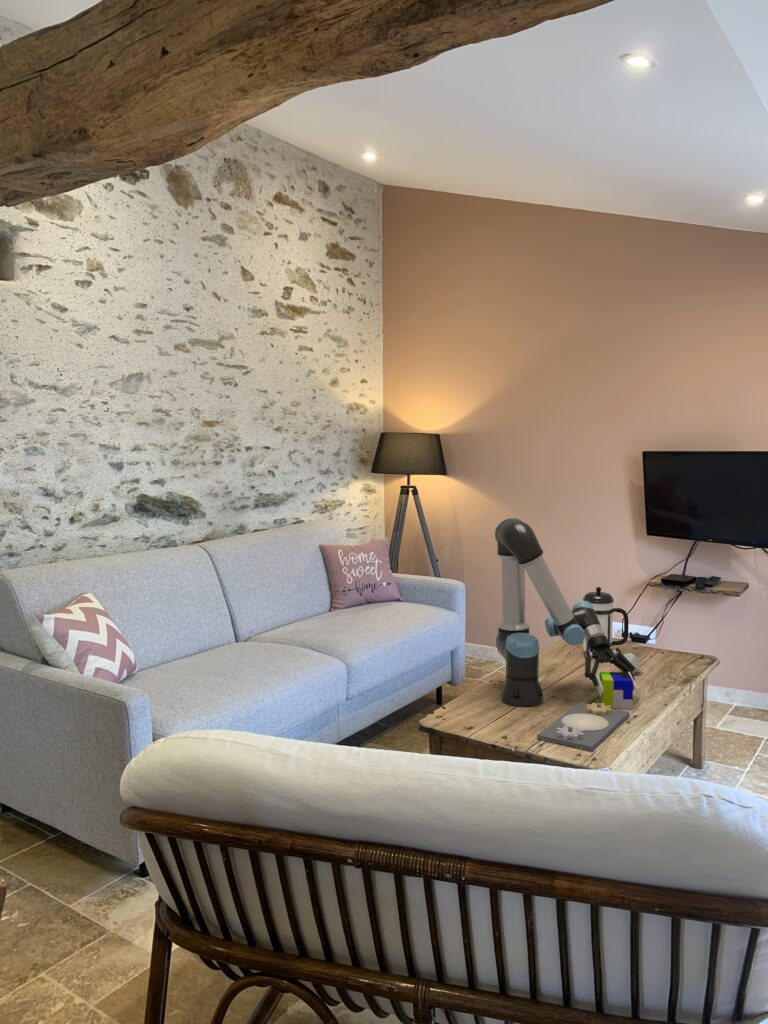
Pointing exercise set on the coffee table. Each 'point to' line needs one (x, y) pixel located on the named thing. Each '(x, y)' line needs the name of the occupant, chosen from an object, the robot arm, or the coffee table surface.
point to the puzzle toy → (617, 690)
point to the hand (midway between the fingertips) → (618, 691)
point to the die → (633, 661)
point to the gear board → (584, 726)
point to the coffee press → (605, 615)
